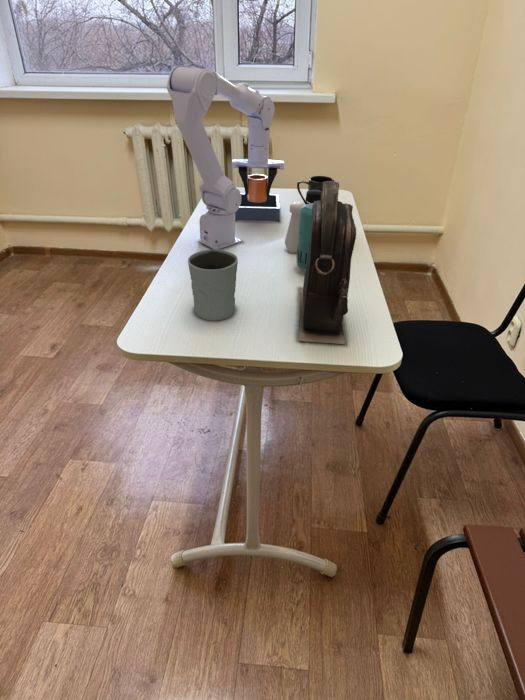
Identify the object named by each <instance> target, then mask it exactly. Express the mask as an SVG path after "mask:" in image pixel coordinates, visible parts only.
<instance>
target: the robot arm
mask: <svg viewBox="0 0 525 700" xmlns="http://www.w3.org/2000/svg"><path fill="white" fill-rule="evenodd" d="M168 74H169V75H168V79H167V84H166V86H165V87H166V90H167V92H168V94H169V97H170V99H171V102H172V107H173V115H174V121H175V124H176V125H177V128H178V131H179V132H180V134H181V136H182V139H183V141H184V143H185V145H186V147H187V150H188V151H189V154H190V155H191V158H192V160H193V162H194V164H195V166H196V169H197V171H198V173H199V176H200V178H201V179H202V181H201V182H200V183H199V186H198V188H199V190H200V196H201V201H202V203H203V204H204V205H205V206H206V207H205V208H206V210H207V212H205V213H204V214H201V216H200V218H199V239H198V241H199V243H201V244H203V245H205V246H207V247H208V248H210V249H211V250H222V249H224V248H227V247H230V246H233V245H236V244H238V243H240V242H242V240H243V239H240V238H238V237H236V220H235V212H237V210H238V208H239V207H240V204H241V191H240V190H239V189H238V188H237V187H236V185H235V183H234V181H232V180H231V179H230V178H229V177H227V176H226V175H225V174H224V171H223V169H222V167H221V165H220V162H219V159H218V157H217V155H216V152H215V149H214V147H213V145H212V142H211V140H210V138H209V135H208V133H207V130H206V128H205V125H204V123H203V120H202V119H203V118H204V117H205V116H206V115H207V113H208V111H209V108H210V107H211V105H212V103H213V100H214V98H215V96H220V97H222V98H225V99H226V100H228V101H229V104H230V106H231V107H232V108H233V109H235V110H237V111H239V112H240V113H243V114H244V116H245V117H246V119H247V120H248V124H247V125H248V127H247V128H248V129H247V130H248V131H247V158H241V159H239V158H238V159H232V161H231V165H232V166H231V168H232V169H238V174H239V177H240V179H241V181H242V184H243V188H244V194H245V195H248V172H249V171H248V169H264V170H265V169H266V170H267V177H268V179H267V195H269V194H271V193H270V192H271V189H272V186H273V183H274V180H275V178H276V177H277V174H278V170H281V171H282V170H283V171H284V170H285V161H284V160H276V159H269V158H270V157H269V156H270V155H269V153H270V151H269V150H270V128H271V127H272V125H273V123H272V121H273V117H274V115H275V112H276V107H275V103H274V101H273V100H272V98H271V97H270V96H267V95H262V94H260V91H259V90H258V89H257V90H256V89H252V88H250V84H249V83H247V82H241V83H237V84H235V85H234V84H233V83H232V82H230V81H229V80H227V79H226V78H224V77H223V76H221V75H219V73H218V72H216V71H212V70H211V69H209V68H196V67H186V66H183V65H175V66H174V67H172V68H171V70H170V71H169V73H168Z"/></svg>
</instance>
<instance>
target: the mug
mask: <svg viewBox="0 0 525 700" xmlns="http://www.w3.org/2000/svg"><path fill="white" fill-rule="evenodd" d="M325 181H335V179H334V178H333V177H330V176H327V175H314V176H310V177H309V178H308V181H304V180H299V181H297V182H296V189H297V192H298V194H299V195H300V198H301V200H302V201H303V203H304V204H305V205H306V204H309V202H307V201H306V198H305V197H304V195H303V194H302V191H301V189H300V184H306V185H307V187H308V188H307V191H309V190H320V191H322V182H325Z"/></svg>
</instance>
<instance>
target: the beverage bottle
mask: <svg viewBox="0 0 525 700" xmlns="http://www.w3.org/2000/svg"><path fill="white" fill-rule="evenodd" d="M321 193H322V191H320V190H309V191H308V190H307V191H306V194H305V200H306V201H307V202H308V203H309V204H306V205H304V206H303V207H302V208H301V210H300V223H299V230H298V231H299V238H298V243H297V244H298V246H297V249H298V252H297V253H296V266H297V267H298V268H299V269H302V270H304V271H305V268H306V261H307V255H308V248H309V240H310V230H311V220H312V208H313V203H314V201H321Z"/></svg>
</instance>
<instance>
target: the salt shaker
mask: <svg viewBox="0 0 525 700" xmlns="http://www.w3.org/2000/svg"><path fill="white" fill-rule="evenodd" d="M304 205H305V203H304V202H300V201H293V202H291V203H290V205H289V213H290V219H289V223H288V228H287V232H286V235H285V238H284V245H285V248H286V251H287V252H289V253H291V254H297V252H298V249H297V246H298V244H297V243H298V238H299V231H298V230H299V223H300V210H301V208H302V207H303V206H304Z"/></svg>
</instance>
